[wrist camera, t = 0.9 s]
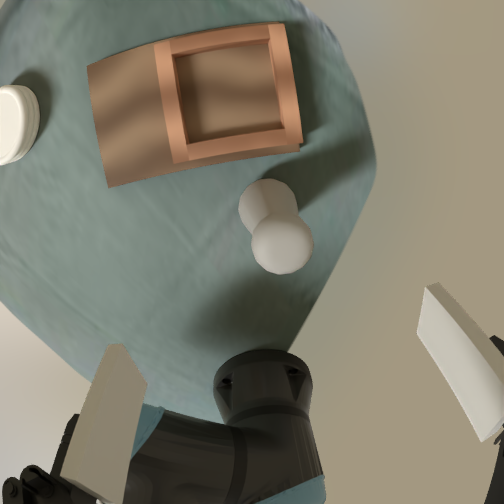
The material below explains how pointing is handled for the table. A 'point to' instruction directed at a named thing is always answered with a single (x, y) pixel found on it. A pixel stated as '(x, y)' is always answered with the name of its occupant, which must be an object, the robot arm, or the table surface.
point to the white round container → (17, 122)
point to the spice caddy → (195, 102)
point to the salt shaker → (275, 226)
